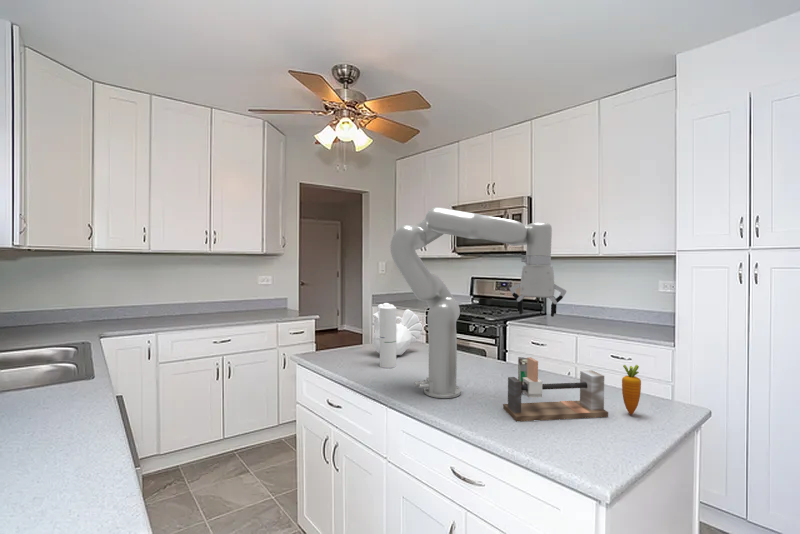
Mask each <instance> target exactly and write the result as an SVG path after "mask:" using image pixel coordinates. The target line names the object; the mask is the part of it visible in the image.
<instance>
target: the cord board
mask: <svg viewBox="0 0 800 534" xmlns="http://www.w3.org/2000/svg"><path fill="white" fill-rule="evenodd" d="M579 375H580V376H579V379H580V381H579V382H564V383H563V382H561V383H558V382H557V383H542V391H543V390H563V389H564V390H566V389H567V390H569V389H579V400H561V401H560V400H559V401H544V402H543V401H542V402H537V401H536V402H522V393H521V390H528V385H521V381H520V380H518V377H515V376H507V403H503V404H502V410H503V411H505V413H507V414H508V415H509V416H510V417H511V418H512V419H513V420H514V421H515V422H516V423H518V422H517V421H520V422H535V421H534V420H540V421H557V420H558V421H559V419H560V420H576V419H577V420H578V419H594V418H595V419H597V418H598V417H600V418H609V411H607V410H606V409H605V375H603V374H602V373H599V372H596V371H594V370H580V373H579ZM598 419H599V418H598Z"/></svg>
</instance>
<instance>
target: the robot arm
mask: <svg viewBox="0 0 800 534" xmlns="http://www.w3.org/2000/svg"><path fill="white" fill-rule="evenodd" d="M443 235H449V236H455V237H459V238H465V239H470V240H471V239H472V240H487V241H493V242H498V243H503V244H507V245H509V246H514V247H517V246H525V245H526V253H525V255H526V256H525V257H521V260H520V261H521V262H522V263H525V265H523V267H522V271H521V277H520V282H519V283H517V284H515V285H513V286H511V287H509V291H510V293H511V295H512V297H513V298H514V299H515V300H516V301H517V312H519V313H518V314H519V315H522V314H523V313H524V301H523V300H524V299H525V297H529V298H530V297H531V298H542V299H549V300H550V301H551V305H550V316H551V318H552V317H554V315H556V314H557V304H558V303H559V302H560V301H562V300H563V298H564V297H565V295H566V293H567V290H566V289H564V288H562V287H561V286H559V285H557V284H555V273H554V267H553V266H552V264H551V263H552V261H551V260H552V235H553V229H552V225H551V224H550V223H549V222H548V223H547V222H532V223H529V224H526V223H525V224H524V223H522V222H520V221H518V220H514V219H509V218H504V217H503V218H501V217H496V216H491V215H490V216H489V215H485V214H480V213H474V212H469V211H468V212H467V211H464V210H462V211H461V210H457V209H451V208H446V207H439V206H437V207H436V206H435V207H433V208H430V209H429V210H428V211H427V213H426V214H425V219H424V220H422V221H420V222H419V223H416V224H415V225H412V224H405V225H401V226H400V227H399V228H397V229H396V230H395V231H394V233H393V234H392V237H391V240H390V245H389V247H390V249H389V250H390V255H391V257H392V261H393V263H395V266H396V267H397V269H398V270H399V272H400V274H401V275H402V277H403V279H404V280H405V282H406V283H407V285H408V287H410V290H411V292H412V293H413V294H414V296H415V297H416V299H417V300H419V301H421V302H426V304H427V306H428V307H429V310H428V312H427V329H428V377H426V379H424V380H422V381H420V380H415V381H414V387H415V388H419V389H423V392H424V394H425V395H427V396H429V397H432V398H435V399H436V398H437V399H453V398H457V397H459V396H461V394H462V389H461V388H460V387H459V386H457V368H458V367H457V361H458V360H457V359H458V357H457V356H458V355H457V352H458V351H457V350H458V349H457V347H458V346H457V344H458V343H457V321H458V320H459V319H460V318H459V317H460V314H461V309H460V305H459V303H458V302H457V300H456V299H455V297H454V296H453V294H452V292H451V291H450V290H449V289H448V287H447V285H446V283H445V282H444V281H443V279H441V277H440V276H438V275H437V274H435V273H431V272H430V270H429V269H428V268H427V267H426V265H425V263H424V262H423V260H422V259H421V257H420V256H419V254H418V253H417V251H418V250H420V249H423V248H424V247H426V246H427V245H429V244H431V243H432V242H434V241H435V240H437V239H439V238H440V237H442V236H443ZM517 289H519V292H520V293H519V294H520V295H519V294H518V293H517V291H516V290H517ZM555 290H556V291H558V292H560V293H559V296H557V297H555V296H554V295H555Z"/></svg>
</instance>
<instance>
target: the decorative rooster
mask: <svg viewBox="0 0 800 534" xmlns="http://www.w3.org/2000/svg"><path fill="white" fill-rule="evenodd" d="M380 307H395V305H394V304H391V303H389V302H384V303H380V304H378V305H377V308H376V309H377V311H376V312H375V313H373V314H372V316H373V317H374V329H375V330H374V333H373V335H372V346H373V348H374V350H375V351H376V352H377V353H378V355H380ZM419 318H420V317H419V316H418V315H417V314H416V313H415V312H414V311H413V310H410V309H409V308H408V309H405V310H404V311H403V313H402V316H398V315H397V320H399V321H400V322H399V323H397V325H396V356H402V355H403V354H404V353H405V352H406V351H407V350H408V349H409V346H410V345H411V344H415V343H416V342H417V340H418V339H420V338H421V335H422V330H423V324H422V323H421V320H420V319H419Z"/></svg>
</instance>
